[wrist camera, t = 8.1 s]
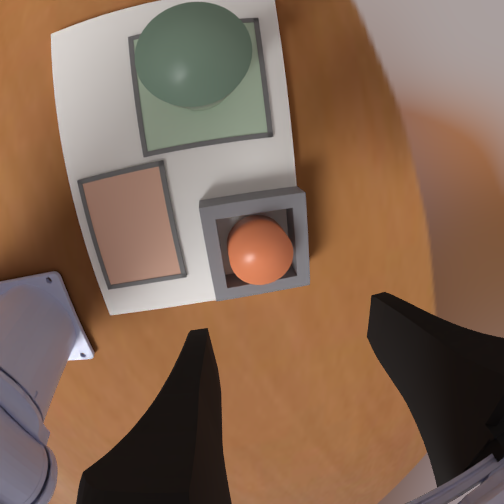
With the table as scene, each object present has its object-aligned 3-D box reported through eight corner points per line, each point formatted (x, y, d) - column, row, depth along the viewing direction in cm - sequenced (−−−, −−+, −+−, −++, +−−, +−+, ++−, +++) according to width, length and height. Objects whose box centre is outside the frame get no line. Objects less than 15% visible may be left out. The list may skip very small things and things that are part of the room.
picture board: (112, 310, 21) (104, 330, 19) (54, 36, 13) (38, 28, 11) (300, 280, 22) (310, 297, 20) (270, -8, 14) (279, -22, 12)
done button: (231, 273, 20) (234, 289, 18) (222, 219, 18) (224, 231, 17) (286, 264, 20) (295, 278, 18) (282, 210, 19) (291, 220, 17)
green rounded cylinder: (171, 118, 16) (142, 117, 9) (162, 56, 15) (129, 14, 7) (237, 107, 16) (259, 97, 9) (229, 46, 15) (244, -5, 8)
